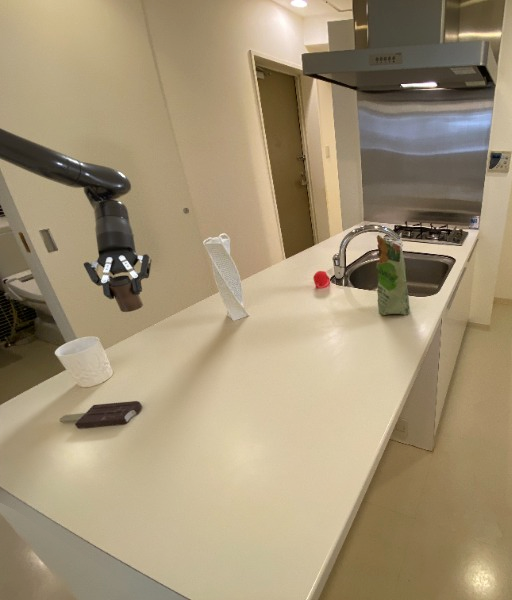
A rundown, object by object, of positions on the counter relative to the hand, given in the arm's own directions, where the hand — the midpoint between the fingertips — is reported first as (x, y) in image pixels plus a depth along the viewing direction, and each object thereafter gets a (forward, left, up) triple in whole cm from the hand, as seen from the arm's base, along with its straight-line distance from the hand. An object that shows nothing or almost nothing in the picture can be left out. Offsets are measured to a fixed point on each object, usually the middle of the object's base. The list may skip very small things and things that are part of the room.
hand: (124, 295), depth 83 cm
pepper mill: (-1, +2, -4) cm, 5 cm away
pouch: (+70, +12, -18) cm, 73 cm away
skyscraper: (+19, +17, -18) cm, 31 cm away
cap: (+45, +36, -18) cm, 60 cm away
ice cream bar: (+3, -24, -18) cm, 30 cm away
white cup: (-7, -10, -18) cm, 22 cm away
